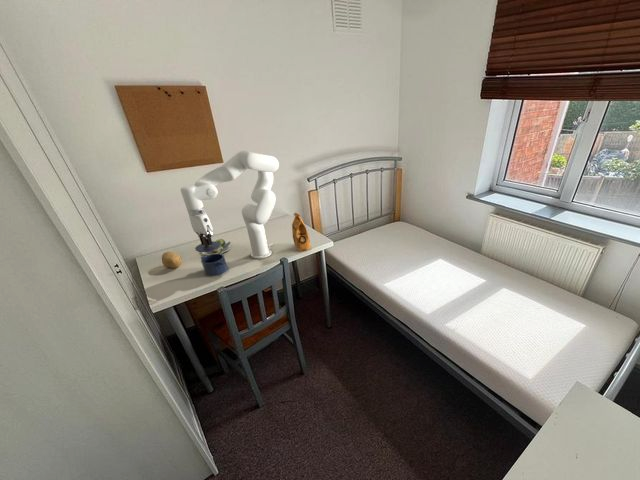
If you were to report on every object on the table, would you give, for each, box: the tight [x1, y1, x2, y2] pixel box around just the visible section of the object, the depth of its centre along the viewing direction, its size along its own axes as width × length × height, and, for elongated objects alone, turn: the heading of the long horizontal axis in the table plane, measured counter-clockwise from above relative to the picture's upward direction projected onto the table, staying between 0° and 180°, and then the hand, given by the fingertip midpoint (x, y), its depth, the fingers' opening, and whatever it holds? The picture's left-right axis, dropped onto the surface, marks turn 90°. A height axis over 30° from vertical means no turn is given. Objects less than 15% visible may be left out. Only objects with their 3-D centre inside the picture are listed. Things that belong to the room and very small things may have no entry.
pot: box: [200, 254, 228, 277], centre depth 162 cm, size 11×17×8 cm
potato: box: [161, 251, 183, 269], centre depth 168 cm, size 10×14×8 cm
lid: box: [194, 235, 220, 253], centre depth 155 cm, size 12×12×7 cm
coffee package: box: [291, 212, 311, 252], centre depth 184 cm, size 10×12×22 cm
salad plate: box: [201, 238, 232, 256], centre depth 186 cm, size 19×18×5 cm
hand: (207, 244), depth 155 cm, fingers closed on lid, 3 cm apart
